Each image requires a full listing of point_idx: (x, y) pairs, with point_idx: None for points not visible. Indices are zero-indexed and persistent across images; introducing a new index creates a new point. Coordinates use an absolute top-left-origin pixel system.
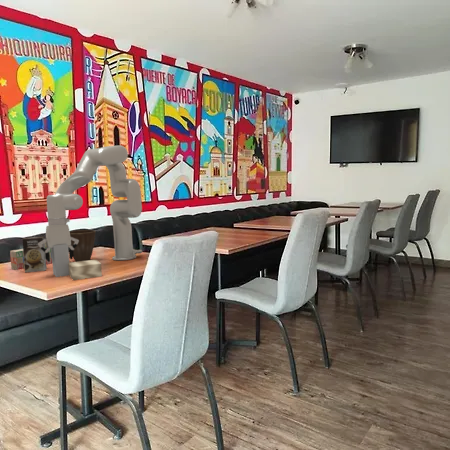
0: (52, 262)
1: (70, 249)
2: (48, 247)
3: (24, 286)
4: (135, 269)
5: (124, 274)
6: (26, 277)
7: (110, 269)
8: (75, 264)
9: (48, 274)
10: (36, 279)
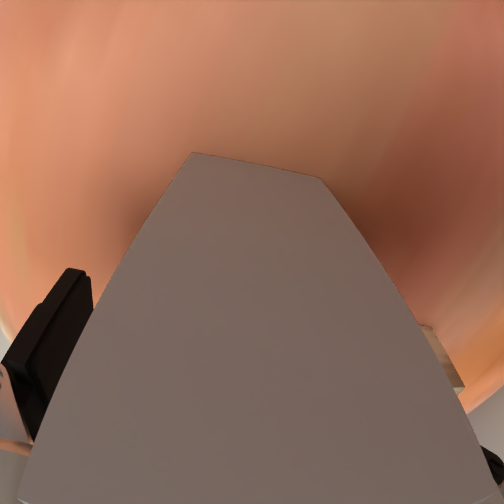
0: (163, 197)
1: None
2: None
3: (10, 340)
4: (490, 387)
5: None
6: (5, 95)
7: (488, 326)
8: None
9: (159, 106)
10: (46, 234)
